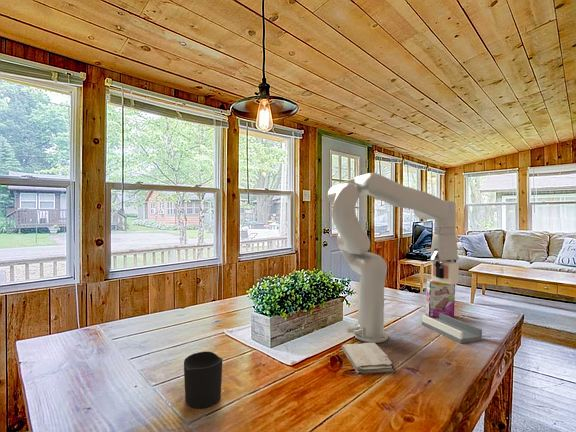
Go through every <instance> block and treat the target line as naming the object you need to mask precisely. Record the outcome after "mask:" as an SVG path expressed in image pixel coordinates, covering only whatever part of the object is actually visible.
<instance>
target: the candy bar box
mask: <svg viewBox="0 0 576 432" xmlns="http://www.w3.org/2000/svg"><path fill="white" fill-rule="evenodd" d="M425 292H426V293H425V294H426V295H425V296H426V297H425V315H426V316H427V317H429V318H439V313H442V314H444V315H447V316H449V317H452V318H454V319H455V300H456V299H455V298H456V284H451V285H450V284H446V283H442V282H438V281H433V280H431V279H429V278H427V279H426V291H425Z"/></svg>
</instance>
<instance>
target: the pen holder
mask: <svg viewBox="0 0 576 432" xmlns="http://www.w3.org/2000/svg"><path fill="white" fill-rule="evenodd" d="M183 373H184V375H183V376H184V378H183V381H184V396H185V397H184V399H185V400H184V401H185V403H186V404H187V406H189V407H191V408H193V409H205V408H209V407H211V406H214V405H215V404H216V403H218V401H219V400H220V398H221V395H222V381H223V380H222V379H223V358H222V357H219V356H218V354H216V353H215V352H212V351H207V350H206V351H198V352H195V353H192V354H190V355H188V356H187V357H186V358H184V361H183Z"/></svg>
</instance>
